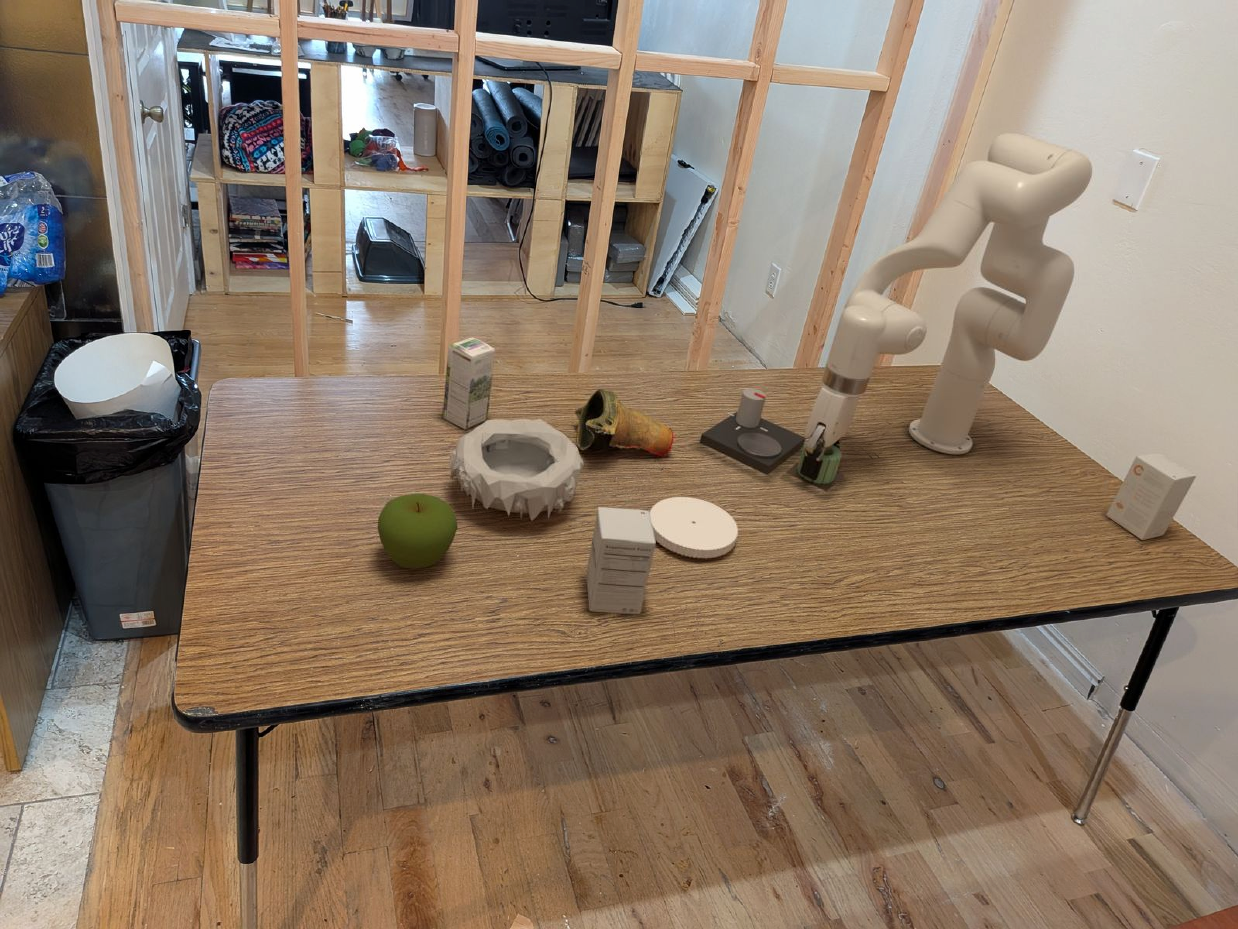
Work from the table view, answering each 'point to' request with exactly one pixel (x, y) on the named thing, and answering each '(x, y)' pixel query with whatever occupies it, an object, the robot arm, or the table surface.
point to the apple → (416, 529)
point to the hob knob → (750, 408)
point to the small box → (1150, 495)
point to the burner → (759, 445)
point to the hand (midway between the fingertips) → (817, 468)
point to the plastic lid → (693, 527)
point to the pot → (619, 427)
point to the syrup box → (468, 382)
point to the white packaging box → (620, 560)
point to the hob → (729, 431)
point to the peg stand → (824, 487)
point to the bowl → (517, 466)
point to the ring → (824, 464)
